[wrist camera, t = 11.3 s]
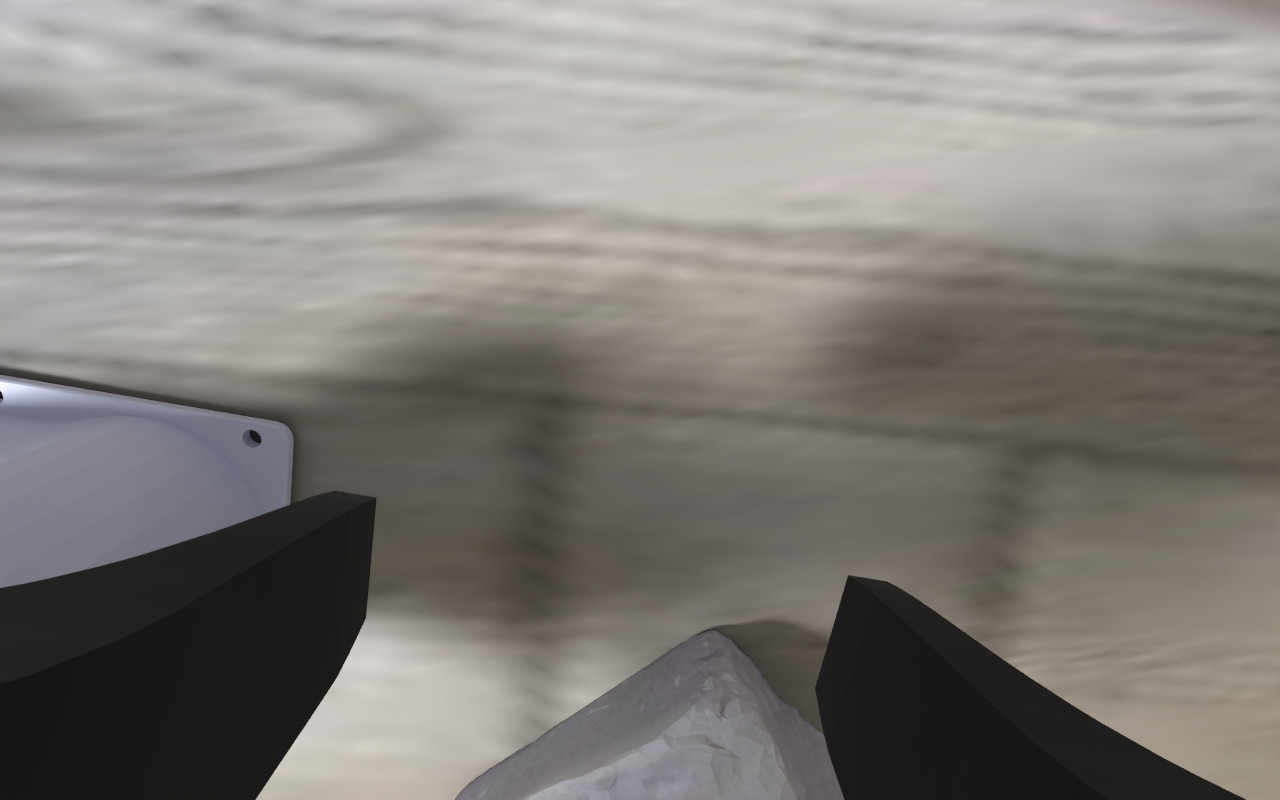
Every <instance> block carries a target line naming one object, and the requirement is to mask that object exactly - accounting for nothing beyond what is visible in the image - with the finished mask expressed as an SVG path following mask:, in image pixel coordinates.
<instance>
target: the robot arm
mask: <svg viewBox="0 0 1280 800" xmlns="http://www.w3.org/2000/svg"><path fill="white" fill-rule="evenodd" d="M0 391H1V392H2V395H3V399H1V398H0V800H255V799H256V798H257V797H258V795H259V794H260V792H261V791H262V789H263V788H264V786H265V785H266V783H267V782H268V780H269V779H270V777H271V776H272V774H273V773H274V771H275V770H276V768H277V767H278V765H279V764H280V762H281V761H282V759H283V758H284V756H285V755H286V753H287V752H288V750H289V749H290V747H291V746H292V744H293V743H294V741H295V740H296V738H297V737H298V736H299V734H300V733H301V731H302V730H303V728H304V727H305V725H306V724H307V722H308V721H309V719H310V718H311V716H312V715H313V713H314V712H315V710H316V708H317V707H318V705H319V704H320V702H321V701H322V699H323V698H324V696H325V695H326V693H327V692H328V690H329V689H330V687H331V686H332V684H333V683H334V681H335V679H336V678H337V676H338V674H339V672H340V670H341V668H342V666H343V664H344V662H345V660H346V658H347V657H348V655H349V653H350V651H351V648H352V646H353V644H354V642H355V640H356V638H357V636H358V634H359V632H360V629H361V627H362V625H363V623H364V621H365V619H366V610H367V599H368V587H369V576H370V565H371V554H372V542H373V531H374V520H375V508H376V498H374V497H368V496H362V495H356V494H350V493H344V492H338V491H333V492H329V493H324V494H320V495H317V496H314V497H311V498H308V499H305V500H302V501H299V502H296V503H293V504H290V502H291V484H292V465H293V446H294V439H293V434H292V432H291V431H290V429H289V428H288V427H287V426H286V425H284V424H283V423H280V422H277V421H272V420H266V419H260V418H254V417H248V416H242V415H236V414H230V413H224V412H218V411H212V410H207V409H201V408H195V407H189V406H183V405H177V404H171V403H165V402H159V401H153V400H147V399H141V398H135V397H129V396H124V395H118V394H112V393H106V392H100V391H94V390H88V389H82V388H76V387H70V386H64V385H58V384H52V383H46V382H41V381H35V380H29V379H23V378H17V377H11V376H5V375H0ZM250 430H254V431H256V432H258V434H259V435H260V436H261V440H262V441H261V443H257V442H255V441H253V439H252V438H251V437H250ZM815 689H816V695H817V700H818V706H819V711H820V717H821V722H822V727H823V731H824V736H825V740H826V745H827V750H828V753H829V756H830V759H831V762H832V765H833V768H834V771H835V774H836V777H837V780H838V783H839V786H840V789H841V791H842V794H843V797H844V800H1246V799H1244V798H1242V797H1240V796H1238V795H1236V794H1233V793H1231V792H1229V791H1227V790H1225V789H1223V788H1221V787H1219V786H1217V785H1215V784H1213V783H1211V782H1209V781H1207V780H1205V779H1203V778H1201V777H1199V776H1197V775H1195V774H1193V773H1191V772H1189V771H1187V770H1185V769H1183V768H1181V767H1180V766H1178V765H1176V764H1174V763H1172V762H1170V761H1168V760H1166V759H1164V758H1162V757H1161V756H1159V755H1157V754H1155V753H1153V752H1152V751H1150V750H1148V749H1146V748H1145V747H1143V746H1141V745H1139V744H1137V743H1136V742H1134V741H1132V740H1130V739H1129V738H1127V737H1125V736H1123V735H1122V734H1120V733H1118V732H1116V731H1114V730H1113V729H1111V728H1109V727H1107V726H1106V725H1104V724H1102V723H1100V722H1099V721H1097V720H1096V719H1094V718H1092V717H1091V716H1089V715H1087V714H1086V713H1084V712H1082V711H1081V710H1079V709H1077V708H1076V707H1074V706H1073V705H1071V704H1069V703H1068V702H1066V701H1065V700H1063V699H1062V698H1060V697H1059V696H1057V695H1056V694H1054V693H1052V692H1051V691H1049V690H1048V689H1046V688H1045V687H1043V686H1042V685H1040V684H1039V683H1037V682H1035V681H1034V680H1032V679H1031V678H1029V677H1028V676H1026V675H1025V674H1023V673H1022V672H1020V671H1019V670H1018V669H1016V668H1015V667H1013V666H1012V665H1010V664H1009V663H1007V662H1006V661H1004V660H1003V659H1001V658H1000V657H999V656H997V655H996V654H994V653H993V652H991V651H990V650H989V649H987V648H986V647H984V646H983V645H981V644H980V643H979V642H977V641H976V640H974V639H973V638H972V637H970V636H969V635H967V634H966V633H965V632H963V631H962V630H960V629H959V628H957V627H956V626H955V625H953V624H952V623H950V622H949V621H948V620H946V619H945V618H943V617H942V616H941V615H939V614H938V613H936V612H935V611H933V610H932V609H931V608H929V607H928V606H926V605H925V604H923V603H922V602H920V601H919V600H917V599H916V598H914V597H913V596H911V595H910V594H908V593H907V592H905V591H903V590H902V589H900V588H898V587H896V586H894V585H893V584H891V583H889V582H886V581H880V580H874V579H868V578H862V577H856V576H850V575H848V578H847V581H846V585H845V588H844V592H843V595H842V598H841V602H840V605H839V609H838V612H837V615H836V619H835V622H834V626H833V629H832V633H831V636H830V639H829V643H828V646H827V650H826V653H825V656H824V660H823V663H822V667H821V670H820V674H819V677H818V680H817V684H816V687H815Z"/></svg>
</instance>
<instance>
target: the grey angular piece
mask: <svg viewBox="0 0 1280 800" xmlns="http://www.w3.org/2000/svg"><path fill="white" fill-rule="evenodd" d="M455 800H844V797H843V794H842V791H841V789H840V786H839V783H838V780H837V777H836V774H835V771H834V768H833V765H832V762H831V759H830V756H829V753H828V750H827V745H826V740H825V736H824V735H823V734H822V733H821V732H820V731H817V730H816V729H815V728H814V727H813V726H812V725H811V724H810V723H808V722H807V721H806V720H805V719H804V718H803V717H802V716H801V715H799V713H798V711H797V709H796V708H794V707H792V706H790V705H788V704H786V703H784V702H782V701H781V700H780V699H779V698H778V697H777V696H776V694H775V693H774V692H773V691H772V690H771V688H770V686H769V684H768V682H767V680H766V679H765V678H764V677H763V676H762V675H761V673H760V671H759V669H758V668H757V667H756V666H755V665H754V664H753V662H752V661H751V660H750V659H749V658H748V657H747V656H746V655H745V654H744V653H743V652H742V651H741V650H740V649H738V648H737V647H736V645H735V644H734V642H733V641H732V640H730V639H729V638H727V637H726V636H724V635H722V634H721V633H719V632H718V631H714V630H710V631H706V632H704V633H701V634H698V635H695V636H693V637H691V638H690V639H688V640H687V641H685V642H683V643H681V644H679V645H678V646H676V647H675V648H673V649H672V650H670V651H669V652H667V653H666V654H664V655H663V656H661V657H660V658H658V659H657V660H655V661H654V662H653V663H651V664H650V665H648V666H646V667H645V668H643V669H642V670H640V671H639V672H637V673H636V674H634V675H633V676H631V677H630V678H628V679H627V680H625V681H624V682H622V683H621V684H619V685H618V686H616V687H615V688H613V689H611V690H610V691H608V692H607V693H606V694H604V695H603V696H601V697H599V698H598V699H596V700H595V701H593V702H592V703H590V704H589V705H587V706H585V707H584V708H583V709H581V710H580V711H578V712H577V713H575V714H574V715H572V716H571V717H569V718H568V719H566V720H564V721H563V722H561V723H559V724H558V725H556V726H555V727H553V728H552V729H550V730H549V731H548V732H547V733H545V734H544V735H543V736H541V737H540V738H538V739H537V740H536V741H534V742H533V743H531V744H529V745H527V746H525V747H523V748H521V749H520V750H518V751H517V752H515V753H514V754H512V755H511V756H509V757H508V758H506V759H505V760H503V761H502V762H500V763H498V764H497V765H495V766H494V767H492V768H490V769H488V770H487V771H486V772H485V773H483V774H482V775H481V776H479V777H478V778H476V779H475V780H473V781H472V782H470V783H469V784H468V785H467V786H466V787H465V788H464V789H463V790H462V791H461V792H460V793H459V794H458V796H457V797H456V799H455Z"/></svg>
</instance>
